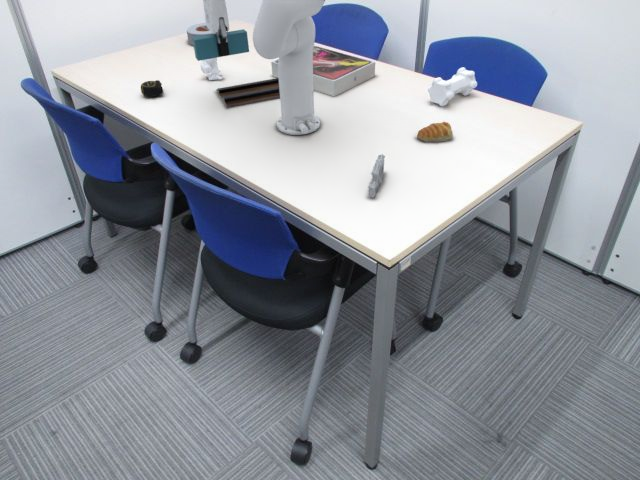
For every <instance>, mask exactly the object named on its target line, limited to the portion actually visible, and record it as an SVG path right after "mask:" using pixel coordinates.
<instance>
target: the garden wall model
mask: <svg viewBox="0 0 640 480" xmlns="http://www.w3.org/2000/svg"><path fill="white" fill-rule="evenodd" d="M385 158H386V155H384V154H383V153H381V154H378V156H377V158H376V160H375V162H374V165H372V170H371V172H370V175H371V181H369V185H368V186H367V188H368V198H372V199H374V198H375V196H376V194H377V191H378V189H379V187H380V186H379V185H381V184H382V181H383V176H384V171H385Z"/></svg>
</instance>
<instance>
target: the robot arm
mask: <svg viewBox="0 0 640 480" xmlns="http://www.w3.org/2000/svg"><path fill="white" fill-rule="evenodd" d="M325 2H326V0H262V2H261V5H260V8H259V11H258V13H257V17H256V20H255V23H254V26H253V31H252V43H253V47H254V49H255V51H256V53H257V54H258V55H259V56H260V57H262V58H263V59H265V60H277V59H279V60H278V78H279V91H280V98H279V103H280V116H281V117H279V118H278V119H277V121H276V128H277V130H278V131H279V132H281V133H284V134H287V135H292V136H303V135H308V134H311V133H314V132H316V131H317V130H318V129H319V128H320V127H321V120H320V118H319V117H318V116H316V115H315V95H314V94H315V93H314V91H315V90H313V48H314V45H315V43H316V42H315V40H316V25H315V22H314V19H313V16H315V15H317V14H318V13H320V11H322V8H323V6H324V4H325ZM202 5H203V11H204V20H205V21H204V22H205V23H206V26H207V27H208V29H209V30H210V31H211V32H212V33H213V34H217V40H218V43H217V47H218V54H219V56H220V57H219V58H222V57H221V56H223V57H228V56H227V55H229V47H228V40H227V33H226V32H230V21H229V16H228V10H227V8H228V7H227V3H226V0H202ZM219 34H221V35H220V37H219ZM229 56H230V55H229Z"/></svg>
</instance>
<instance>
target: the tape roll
mask: <svg viewBox="0 0 640 480" xmlns="http://www.w3.org/2000/svg"><path fill="white" fill-rule="evenodd" d="M211 34H213V33H212V32H211V31H210V30H209V29H208V27H207V26H206V22H202V23H201V22H200V23H196V24H193V25H191V26H189V27H187V28H186V36H187V41H188V44H189V45H190V46H193V47H194V45H193V40H192V38H193V37H199V36H205V35H211Z"/></svg>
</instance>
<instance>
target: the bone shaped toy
mask: <svg viewBox="0 0 640 480" xmlns="http://www.w3.org/2000/svg"><path fill="white" fill-rule="evenodd" d="M475 75H476V73H475V71H474V70H468V69H466V67H463V66H462V67H460V68H458V69H457V70H456V74H453V75H452V76H451V78H450V79H447V80H444V79H443V78H442V77H440V76H438V77H436V78H434V80H433V81H432V84H430V85H428V87H427V92H428V94H429V96H430V102H431V103H433V104H438V105H439V107H445V106H447V105H448V103H449V101H450V100H452V99H453V98H454V97H455V95H456V94H459V93H460V94H462V95H463V96H464V97H465V96H468V95H470V94H471V93H472V90H474V89H476V88H477V86H478V81H476V76H475Z"/></svg>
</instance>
